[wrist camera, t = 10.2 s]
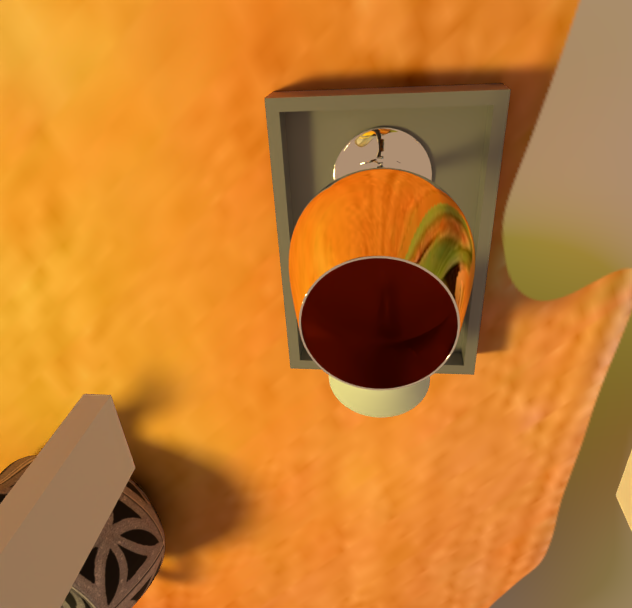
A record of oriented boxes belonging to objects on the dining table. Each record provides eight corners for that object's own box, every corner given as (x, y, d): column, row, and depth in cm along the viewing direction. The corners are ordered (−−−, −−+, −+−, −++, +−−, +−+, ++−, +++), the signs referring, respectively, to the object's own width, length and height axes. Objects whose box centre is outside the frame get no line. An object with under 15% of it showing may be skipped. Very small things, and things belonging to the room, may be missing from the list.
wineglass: (431, 93, 31) (474, 190, 16) (457, 217, 35) (513, 395, 19) (304, 134, 33) (230, 255, 18) (341, 247, 37) (307, 428, 21)
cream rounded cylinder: (339, 268, 38) (325, 337, 30) (423, 267, 37) (431, 338, 29) (343, 337, 41) (331, 415, 33) (420, 338, 40) (427, 418, 32)
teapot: (150, 389, 47) (60, 535, 34) (194, 585, 63) (144, 735, 50) (-41, 376, 49) (-191, 508, 37) (48, 568, 65) (-36, 708, 52)
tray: (272, 91, 33) (264, 98, 31) (502, 83, 31) (510, 89, 29) (295, 349, 43) (290, 368, 41) (469, 354, 41) (473, 374, 39)
